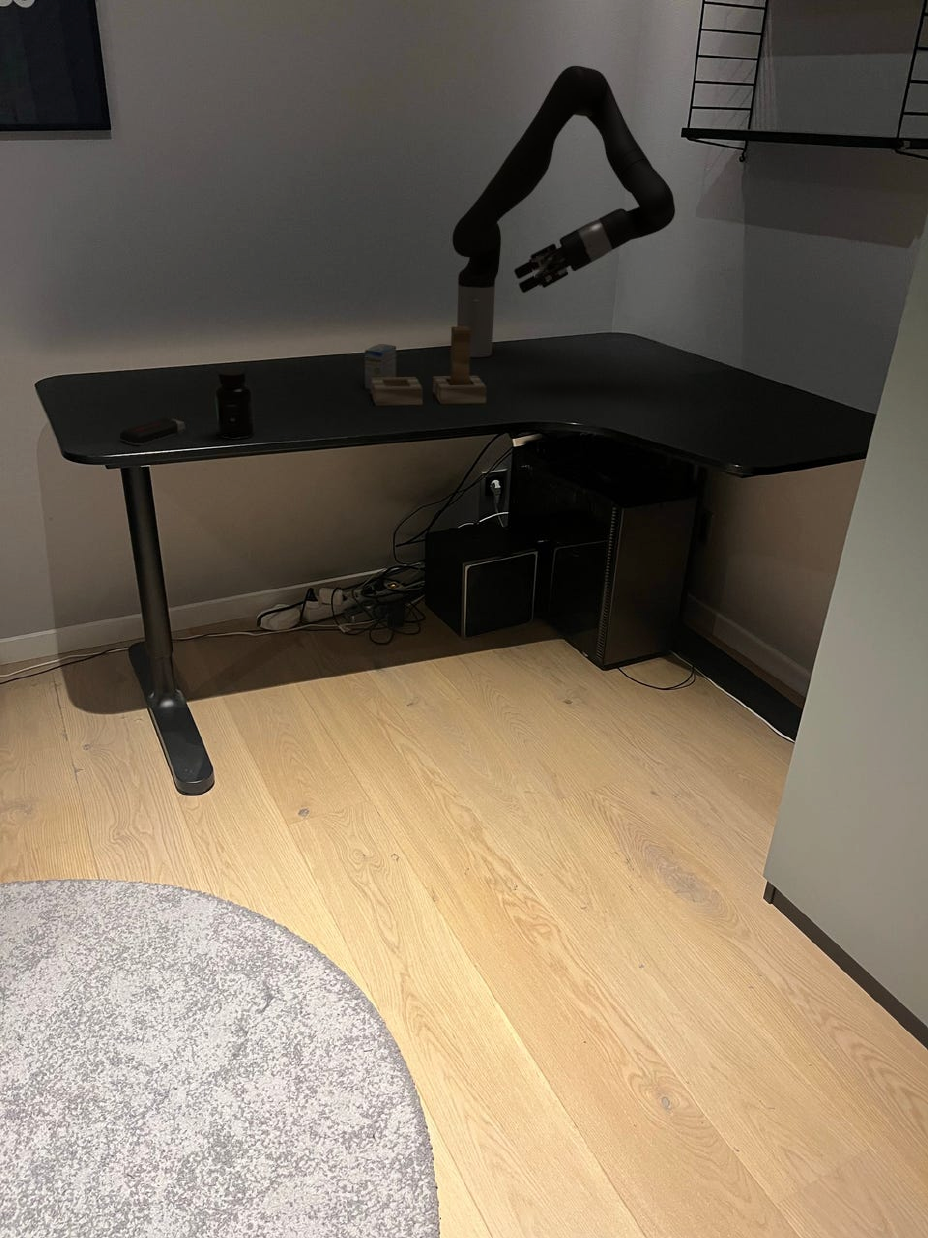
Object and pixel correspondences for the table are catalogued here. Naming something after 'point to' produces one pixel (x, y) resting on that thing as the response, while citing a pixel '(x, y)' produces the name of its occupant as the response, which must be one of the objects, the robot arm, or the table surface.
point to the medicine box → (380, 363)
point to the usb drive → (152, 430)
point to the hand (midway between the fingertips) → (518, 281)
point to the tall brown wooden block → (460, 355)
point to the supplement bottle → (234, 405)
